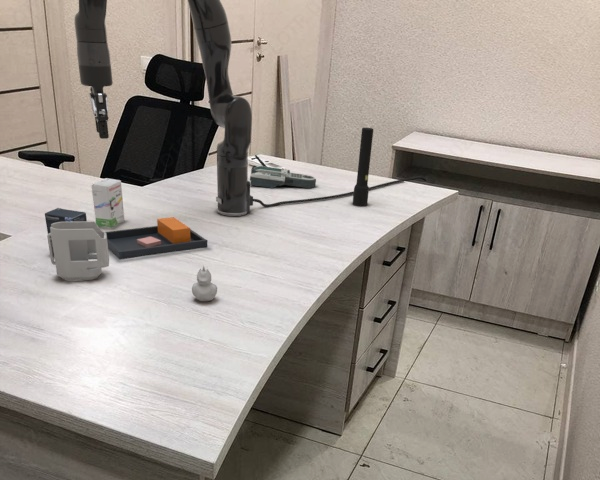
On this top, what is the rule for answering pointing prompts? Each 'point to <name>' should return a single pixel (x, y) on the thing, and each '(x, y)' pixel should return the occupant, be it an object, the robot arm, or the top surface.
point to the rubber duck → (204, 286)
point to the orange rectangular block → (173, 230)
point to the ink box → (108, 202)
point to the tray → (127, 246)
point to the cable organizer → (78, 249)
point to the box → (63, 218)
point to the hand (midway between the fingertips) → (102, 135)
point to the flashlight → (363, 169)
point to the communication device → (278, 177)
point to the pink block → (149, 241)
